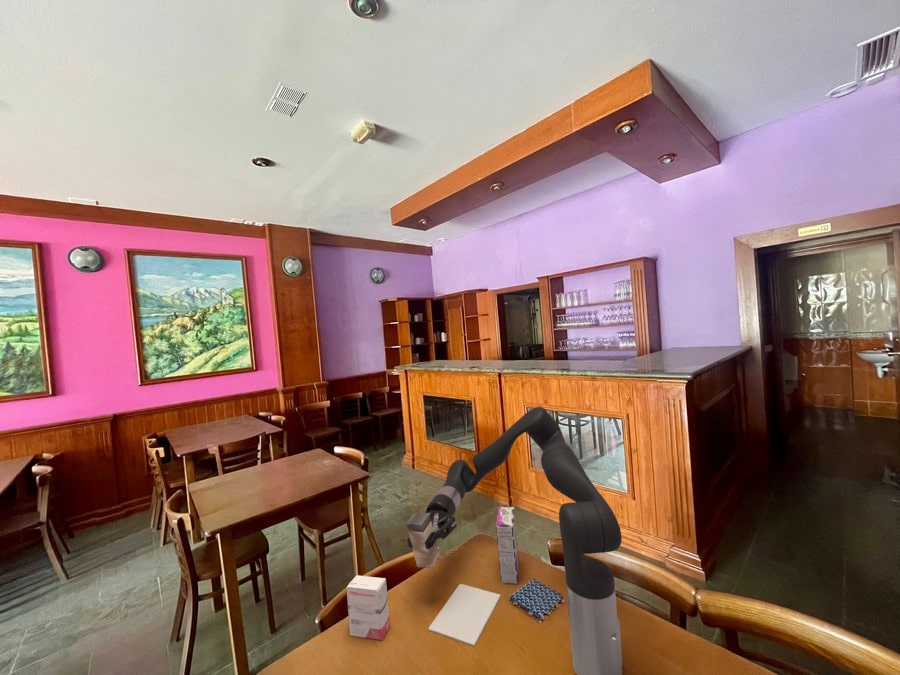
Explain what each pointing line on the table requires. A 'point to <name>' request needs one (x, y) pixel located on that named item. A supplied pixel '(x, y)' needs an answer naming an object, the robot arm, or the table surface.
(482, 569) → the table surface
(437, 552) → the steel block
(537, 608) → the woven mat
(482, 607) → the white rectangular board
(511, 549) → the candy bar box
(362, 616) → the ink box
